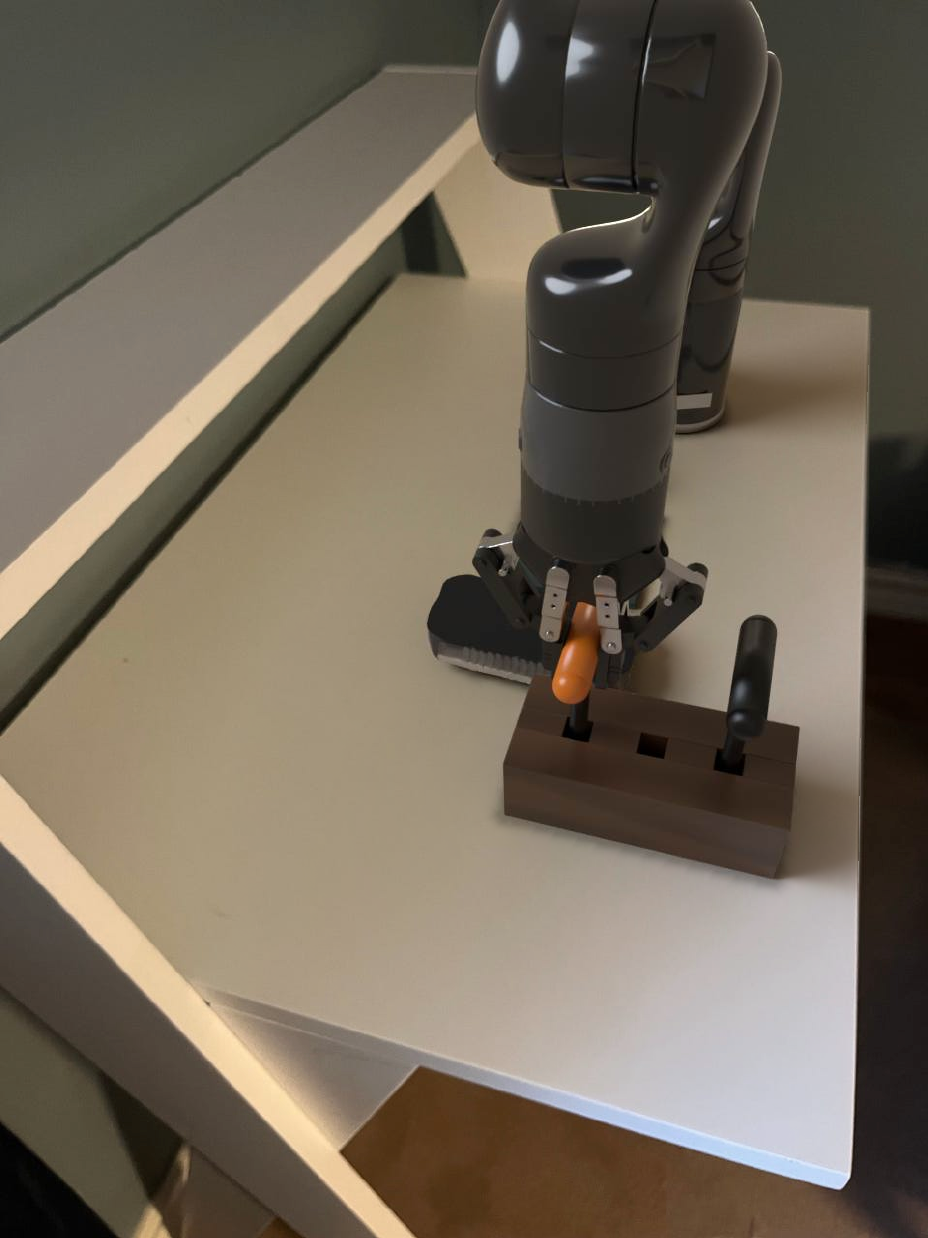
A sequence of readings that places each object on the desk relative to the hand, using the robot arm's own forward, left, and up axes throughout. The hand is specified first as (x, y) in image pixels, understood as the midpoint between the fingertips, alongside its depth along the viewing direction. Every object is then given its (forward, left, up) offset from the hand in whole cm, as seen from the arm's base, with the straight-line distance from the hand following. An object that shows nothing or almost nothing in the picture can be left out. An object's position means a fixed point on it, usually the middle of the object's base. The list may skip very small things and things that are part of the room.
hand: (581, 673), depth 61 cm
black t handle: (0, +10, -12) cm, 15 cm away
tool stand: (0, +5, -12) cm, 13 cm away
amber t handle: (0, 0, -12) cm, 12 cm away
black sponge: (-11, -6, -12) cm, 17 cm away
